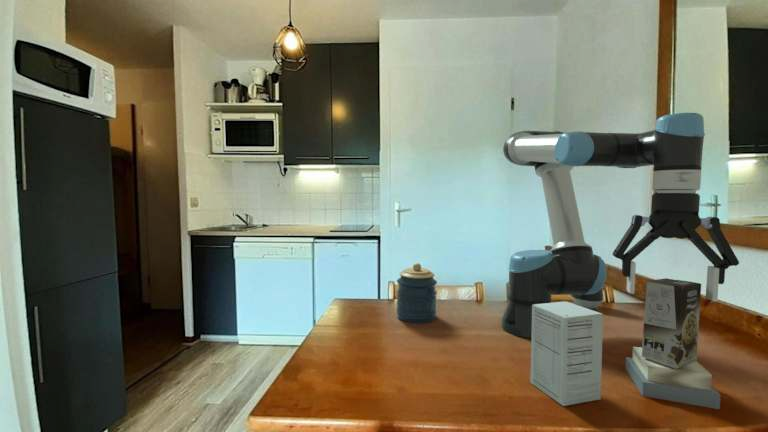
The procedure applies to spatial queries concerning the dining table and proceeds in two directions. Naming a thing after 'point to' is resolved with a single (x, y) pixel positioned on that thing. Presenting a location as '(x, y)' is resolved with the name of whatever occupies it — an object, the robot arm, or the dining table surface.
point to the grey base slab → (672, 389)
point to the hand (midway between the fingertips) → (669, 295)
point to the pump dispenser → (589, 300)
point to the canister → (416, 295)
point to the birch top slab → (673, 372)
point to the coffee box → (671, 322)
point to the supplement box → (566, 352)
